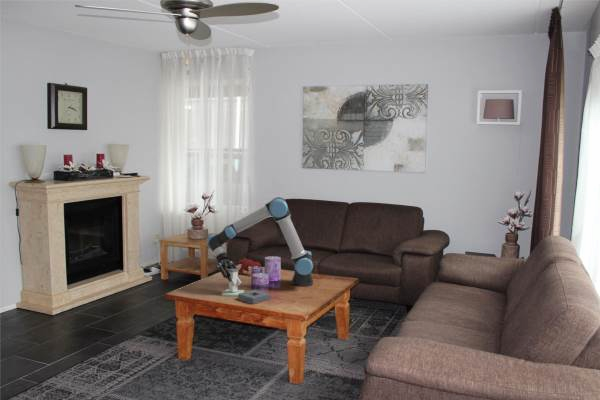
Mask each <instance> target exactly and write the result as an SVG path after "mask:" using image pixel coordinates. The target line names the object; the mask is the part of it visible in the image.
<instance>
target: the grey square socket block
mask: <svg viewBox="0 0 600 400" xmlns="http://www.w3.org/2000/svg"><path fill="white" fill-rule="evenodd" d="M237 300H239V301H243V302H245V303H248V304H252V305H256V304H258V303H262V302H266V301H271V294H270V293H268V292H264V291H260V290H257V289H252V290H247V291H244V293H240V294H238V297H237Z"/></svg>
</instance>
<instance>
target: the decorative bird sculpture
mask: <svg viewBox="0 0 600 400" xmlns="http://www.w3.org/2000/svg"><path fill="white" fill-rule="evenodd" d="M239 264H241V265H240V268H239V269H238V271H239V274H238V276H239V275H242V274H243V273H244V272H245V271H246V272H247V273H249V274H251V273H252V272H251V271H250V269H249V267H250V268H251V269H253V267H254V266H258V267H261V268H262V265H261V263H260V262H259V261H253V260H252V259H249V258H248V259H247V258H246V257H245V258H242V259H240V260H239V261H238V262H237V265H236V267H237V266H239Z"/></svg>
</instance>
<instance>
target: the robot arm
mask: <svg viewBox="0 0 600 400" xmlns="http://www.w3.org/2000/svg"><path fill="white" fill-rule="evenodd" d="M291 215H292V213H291V211H290V209H289V207H288V202H287V201H286V199H284V198H283V197H279V196H278V197H274V198H273V199H272V200H270V201H269V202H267V203H265V204H264V206H263V207H261V208H259V209H257V210H255V211H253V212H251V213H250V214H247V215H246V216H245V217H242V218H240V219H238V220H236V221H234V222H233V223H231V224H230V225H227V226H225V227H224V228H223V229H222V231H221V232H219V233H218V234H216V233H212V234H209V235H208V236H207V237H206V242H207V246H208V247H209V249H210V250H211V252H212V254H213V255H214V257H215V259H216V261H217V263H218V264H217V265H216V267H217V268H218V270H219V271H220V274H221V275H222V276H223V278H224V279H227V280H228V283H229V282H231V284H232V286H233V287H234V286H235V282H234V280H233V278H232V276H230V274H229V271H228V269H233V268H234V269H238V267H237V265H236V264H235V261H234V260H230V259H229V256H228V254H227V252H226V250H225V249H224V246H223V245H224V244H226V243H228V242H229V241H230V240H232V239H233V238H235V237H236V236H237V234H238V233H241V232H243V231H244V230H246V229H248V228H250V227H252V226H254V225H256V224H258V223H260V222H261V221H263V220H265V219H267V218H269V217H271V218H272V217H273V219H274V220H273V221H274V222H276V223H277V224H278V226H279V227H280V230H281V233H282V234H283V237H284V240H285V241H286V243H287V246H288V247H289V251H290V253H291V261H292V263H293V265H294V270H293V271H294V273H293V276H292V277H291V278H292V279H291V285H293V286H298V287H308V286H313V285H314V279H313V276H312V275H313V274H312V270H313V268H314V263H313V261H312V252H311V251H309V250H305V248H304V247H303V244H302V241H301V240H300V237H299V235H298V232H297V230H296V228H295V226H294V222H292V218H291ZM241 284H242V281H241V279H240V276H239V270H238V286H240V285H241Z"/></svg>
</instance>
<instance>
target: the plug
mask: <svg viewBox="0 0 600 400" xmlns="http://www.w3.org/2000/svg"><path fill="white" fill-rule="evenodd" d="M227 269H228V268H227ZM238 271H239V269H238V268H237V269H234V268H233V269H228V272H229V274H230V276H232V278H233V280H234V282H235V286H234V287H233V286H232V284H231V282H229V281H228V289H229V291H231V292H235V291H238V290H239V288H238V286H239V285H238V276H239V274H238Z"/></svg>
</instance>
